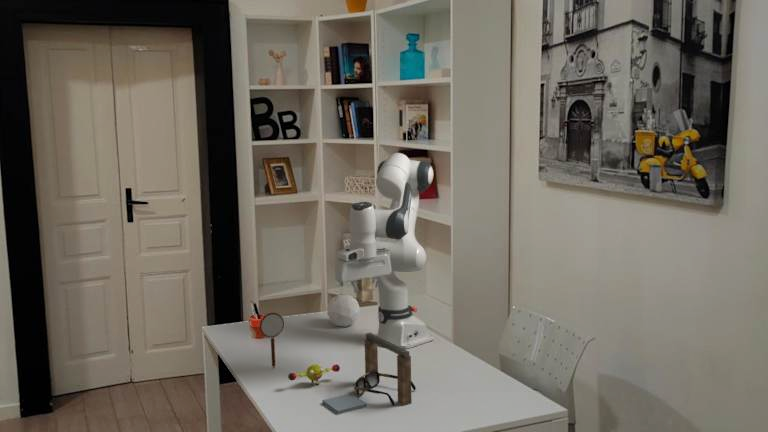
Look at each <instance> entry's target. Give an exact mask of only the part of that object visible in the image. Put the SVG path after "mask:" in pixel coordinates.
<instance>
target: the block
mask: <svg viewBox="0 0 768 432" xmlns="http://www.w3.org/2000/svg"><path fill="white" fill-rule="evenodd" d="M356 285H357V286H358V287H360V293H355V294H356V295H355V296H356V300H358V301H360V302H363V303H364V302H368V301H373V299H374V296H373V295H374V294H373V293H374V290H373V288H372V277H366V278H361V280H357V283H356Z"/></svg>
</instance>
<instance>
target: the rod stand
mask: <svg viewBox="0 0 768 432" xmlns="http://www.w3.org/2000/svg"><path fill="white" fill-rule="evenodd" d="M378 354H379V353H378V344H376V343H374V342H372V341H370V340H368V339H366V338H365V339H364V364H365V365H364V366H365V367H364V368H365V369H364V370H365V372H364V373H365V374H366V373H368V372H371V371H373V370H376V371H378V372H379V362H378V361H379V360H378V358H379V355H378ZM411 359H412V357H411V355H409V357H406V358H404V357H402V356H400V355H398V354H397V355H396V365H397V366H396V368H397V369H396V371H397V373H396V374H397V375H396V376H397V379H396V380H397V403H398V404H400V405H402V406H406V405H407V406H408V405H411V404H412V386H411V381H412V360H411ZM365 374H364V375H365Z"/></svg>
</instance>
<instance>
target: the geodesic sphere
mask: <svg viewBox="0 0 768 432" xmlns="http://www.w3.org/2000/svg"><path fill="white" fill-rule="evenodd" d="M360 309H361V307H360V305H359V302H358V301H357V298H354V297H353V296H351V295H349V294H345V293H339V294H338V295H336V296H333V297H332V299H331V300H330V301H329V302H328V304H327V316H328V318H329V321H330V322H331V323H333V324H335V325H336V326H339V327H344V328H345V327H346V328H347V327H349V326H351V325H353V324H354V323H355V322H356V321H357V320H358V318H359V316H360Z"/></svg>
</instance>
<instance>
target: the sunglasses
mask: <svg viewBox="0 0 768 432" xmlns="http://www.w3.org/2000/svg"><path fill="white" fill-rule="evenodd" d="M380 377H384V378H391V379H396V380H397V375H393V374H388V373H381V372H379V370H378V371H376V370H373V371H371V372H368V373H366V374H363V375H362V376H360V377H359V378H358V379H357V380H355V385H354V386H353V388H354V390H355V391H356V395H357V396H362V395H364V393H365V392H366V393H367V392H368V393H372V394H376V395H377V394H378V395H386V396H387V397H388V399H389V401H390V404H391V405H392V406H393V407H394V406H395V401H394V399H393V398H392V396H391V395H390V394H389V393H388V392H384V391H380V390H376V389H372V388H374V387H376V386H377V385H379V384H380ZM366 387H369V388H366ZM411 389H412V390H414V391H416V390H417V388H416V385H415V384H414V382H413V381H412V380H411Z"/></svg>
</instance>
